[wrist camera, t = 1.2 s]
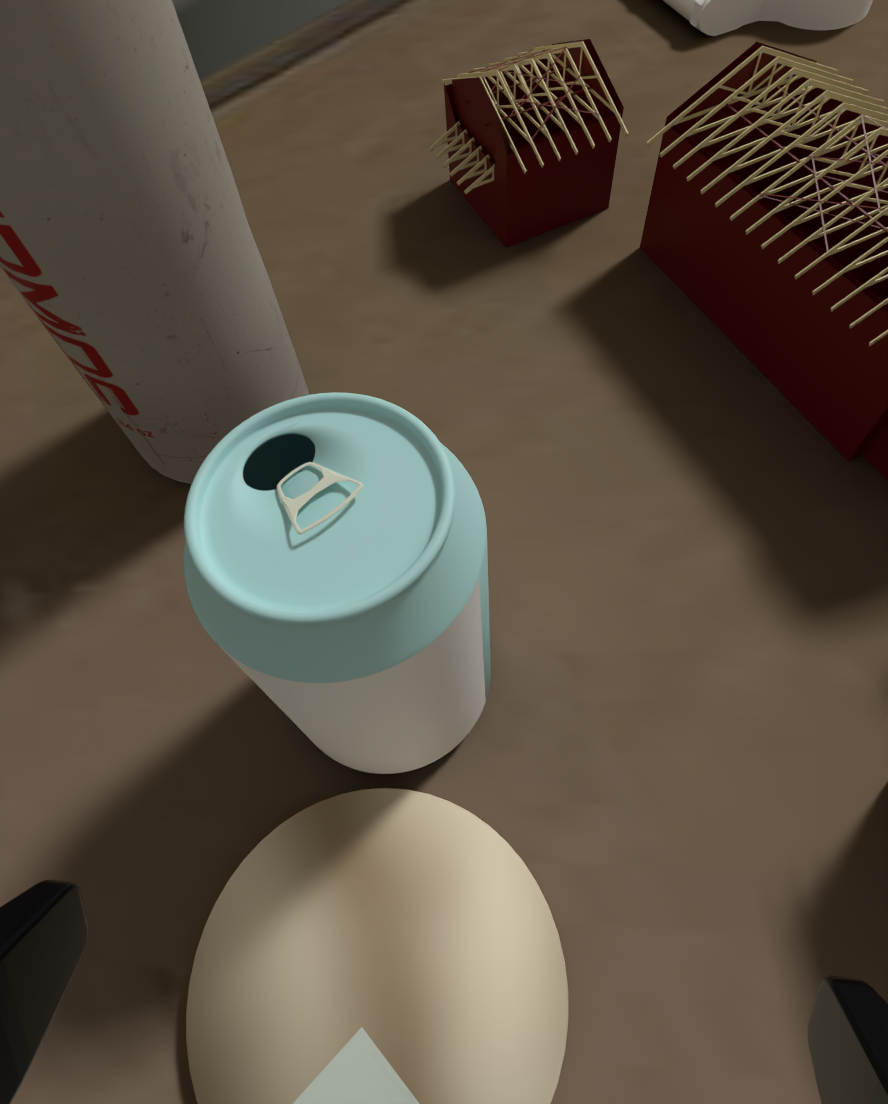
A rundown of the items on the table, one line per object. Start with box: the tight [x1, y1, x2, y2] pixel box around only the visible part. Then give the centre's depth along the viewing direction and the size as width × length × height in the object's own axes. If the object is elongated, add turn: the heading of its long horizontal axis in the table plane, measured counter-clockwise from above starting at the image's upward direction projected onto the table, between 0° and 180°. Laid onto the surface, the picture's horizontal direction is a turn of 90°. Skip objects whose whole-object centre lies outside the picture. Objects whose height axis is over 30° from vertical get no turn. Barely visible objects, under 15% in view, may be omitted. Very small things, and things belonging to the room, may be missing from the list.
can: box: [184, 393, 491, 774], centre depth 20 cm, size 7×7×12 cm
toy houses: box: [429, 39, 888, 481], centre depth 26 cm, size 45×20×10 cm, turn 26°
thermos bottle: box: [0, 0, 309, 484], centre depth 19 cm, size 8×8×28 cm
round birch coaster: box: [186, 788, 568, 1104], centre depth 20 cm, size 11×11×1 cm
